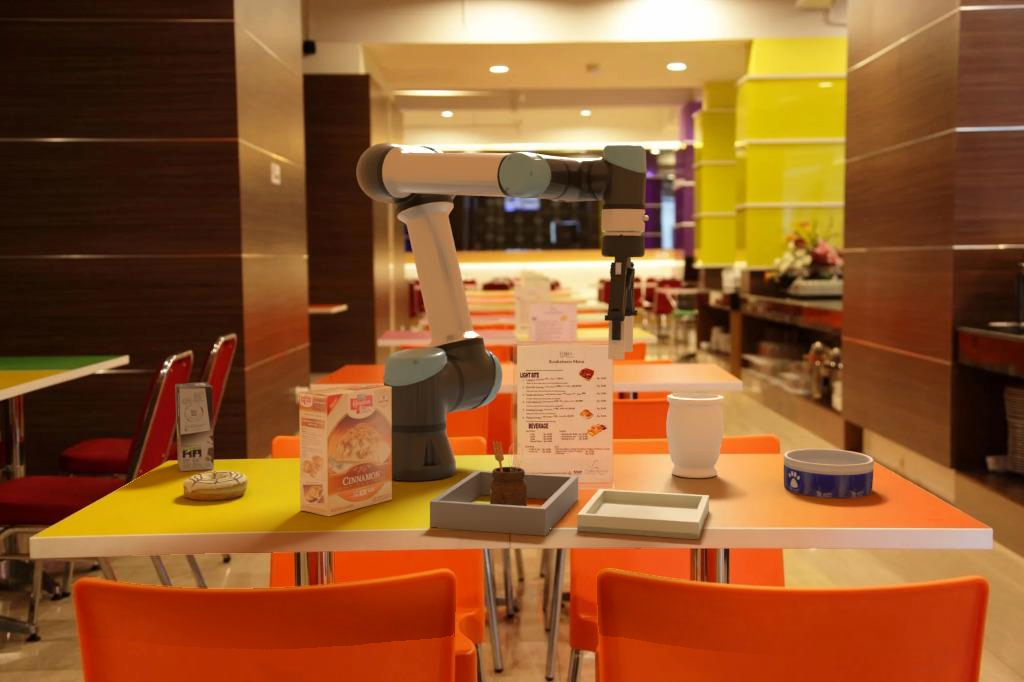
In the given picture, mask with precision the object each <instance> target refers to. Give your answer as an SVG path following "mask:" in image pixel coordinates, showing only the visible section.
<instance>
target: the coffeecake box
mask: <svg viewBox="0 0 1024 682" xmlns="http://www.w3.org/2000/svg"><path fill="white" fill-rule="evenodd" d="M298 396H299V397H298V398H299V400H298V401H299V405H298V406H299V410H298V411H299V413H298V415H299V484H300V485H299V489H300V490H299V491H300V492H299V494H300V496H299V498H300V499H299V501H300V503H299V504H300V511H301V512H302V511H303V512H308V513H311V514H315V515H320V516H324V517H333V516H336V515H339V514H340V515H341V514H343V513H346V512H351V511H355V510H358V509H362V508H366V507H370V506H375V505H377V504H381V503H384V502H388V501H389V502H390V501H392V500H393V480H392V387H390V386H384V384H373V383H372V384H371V383H361V384H353V385H343V386H338V387H337V386H336V387H327V388H322V389H313V390H306V391H299V392H298Z"/></svg>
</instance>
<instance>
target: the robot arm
mask: <svg viewBox="0 0 1024 682" xmlns="http://www.w3.org/2000/svg"><path fill="white" fill-rule="evenodd" d="M355 172H356V179H357V183H358V185H359V187H360V189H361V190H362V191H363V193H364V194H365V195H366V196H368V197H369V198H370V199H372V200H374V201H376V202H380V203H386V204H394V207H395V208H394V209H395V214H396V217H397V219H398V220H399V221H401V222H402V223H404V224H405V225H406V229H407V232H408V237H409V241H410V246H411V250H412V254H413V261H414V264H415V269H416V274H417V279H418V283H419V288H420V292H421V297H422V300H423V306H424V311H425V315H426V320H427V323H428V329H429V334H430V337H431V341H430V343H429V344H428V346H427V347H425V346H424V347H416V348H407V349H406V348H405V349H403V350H398V351H396V352H392V353H391V354H389V355H388V356H387V357H386V359H385V361H384V373H383V377H382V379H383V385H384V386H390V387H392V481H403V482H404V481H407V482H409V481H410V482H411V481H412V482H414V481H415V482H417V481H418V482H419V481H432V480H440V479H445V478H448V477H451V476H454V475H455V474H456V473H457V466H456V465H457V464H456V463H457V462H456V458H455V455H454V451H453V448H452V446H451V442H450V439H449V437H448V434H447V414H449V413H455V412H456V413H457V412H460V411H472V410H475V409H478V408H480V407H484V406H486V405H488V404H489V403H491V402H492V401H493V400H494V399H495V398H497V394H498V392H499V391H500V389H501V387H502V384H503V370H502V364H501V363H500V360H499V358H498V357H497V356H496V355H495V354H494V353H493V352H492V351H491V350H488V349H486V345H485V341H484V337H483V336H482V335H481V334H479V333H478V332H477V331H475V329H474V326H473V322H472V317H471V314H470V308H469V304H468V298H467V295H466V290H465V285H464V281H463V276H462V272H461V268H460V263H459V260H458V253H457V249H456V245H455V244H456V243H455V240H454V236H453V231H452V226H451V223H450V218H449V215H450V213H451V212H452V210H453V209H454V201H453V200H454V198H455V197H456V196H476V197H478V196H479V197H481V196H483V197H502V198H503V197H505V198H519V199H541V200H542V199H543V200H544V199H545V200H550V201H553V202H559V203H571V202H593V201H599V202H600V201H601V202H602V207H601V208H602V209H601V232H603V233H604V235H602V237H601V256H602V257H605V258H606V257H607V258H614V262H613V261H612V262H611V264H610V271H609V276H610V279H609V280H610V282H609V295H608V297H609V298H608V308H607V314H605V315H604V321H605V322H608V348H607V349H608V350H607V351H608V354H607V355H608V356H607V359H608V360H617V361H618V360H623V361H624V360H625V355H626V354H625V353H633V352H634V351H633V350H634V349H633V346H634V344H633V343H634V317H637V316H638V309H636V308H635V293H634V292H635V291H634V290H635V289H634V287H635V275H636V274H635V273H636V269H635V264H634V261H632V259H631V258H643V257H644V256H645V253H646V252H645V251H646V250H645V248H646V244H645V243H646V239H645V236H643V235H642V234H643V233H644V232H645V231H646V229H645V228H646V223H645V222H647V221H649V220H650V219H649V215H647V214H646V188H647V173H648V168H647V152H646V149H645V148H644V146H642V145H639V144H630V143H628V144H627V143H623V144H621V143H619V144H614V143H613V144H607V145H605V146H604V148H603V151H602V157H598V158H597V157H596V158H572V157H565V156H558V155H557V156H555V155H546V154H540V153H536V152H532V151H519V152H518V151H516V152H513V153H512V152H511V153H508V152H506V153H505V152H500V153H499V152H443V151H442V150H439V149H435V148H433V147H430V146H424V145H422V146H421V145H420V146H414V145H407V144H400V143H399V144H397V143H392V142H391V143H390V142H384V143H383V142H382V143H377V144H374V145H372V146H370V147H368V148H366V150H365V151H363V153H362V154H361V155H360V157H359V160H358V161H357V164H356V170H355ZM645 214H646V215H645ZM644 221H645V222H644Z"/></svg>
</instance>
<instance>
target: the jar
mask: <svg viewBox="0 0 1024 682" xmlns="http://www.w3.org/2000/svg"><path fill="white" fill-rule="evenodd" d="M724 398H725V397H724V396H723V395H719V394H715V393H714V394H713V393H707V392H706V393H705V392H704V393H703V392H679V393H677V392H676V393H671V394H668V395H666V400H667V403H669V405H668V406H669V407H668V410H667V416H666V425H665V428H666V430H665V431H666V432H665V433H666V437H667V438H666V440H667V445H668V454H669V456H670V458H671V462H672V464H673V468H671V471H670V472H671V474H673V475H674V476H677V477H679V478H685V479H686V478H687V479H707V478H712V477H715V476H717V475H718V471H717V469H716V468H715V465H716V464H717V462H718V461H719V457H720V454H721V449H722V448H721V447H722V442H723V439H724V438H723V437H724V424H725V423H724V415H723V410H722V407H721V406H722V404H723V403H724V401H725V400H724Z"/></svg>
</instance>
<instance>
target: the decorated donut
mask: <svg viewBox="0 0 1024 682" xmlns="http://www.w3.org/2000/svg"><path fill="white" fill-rule="evenodd" d="M182 485H183V495H184V497H185V498H186V499H190V500H197V501H202V502H204V501H205V502H206V501H210V502H211V501H215V500H216V501H224V500H230V499H236V498H240V497H242V496H243V495H244V493H245V492H246V491H247V489H248V486H249V481H248V477H247V476H246V475H245V474H244V473H241V472H238V471H235V470H213V471H205V472H201V473H196V474H194V475H192V476H190V477H188V478H186V479H184V481H183V483H182Z"/></svg>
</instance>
